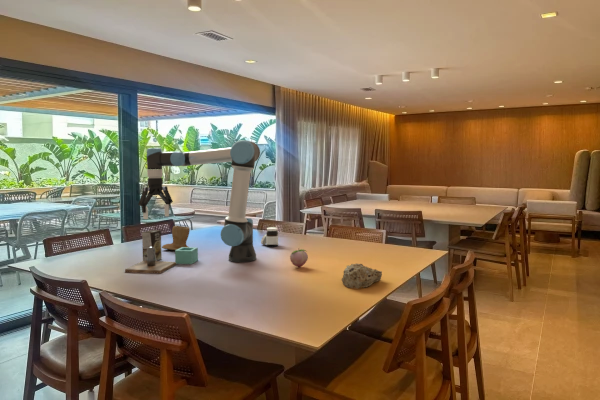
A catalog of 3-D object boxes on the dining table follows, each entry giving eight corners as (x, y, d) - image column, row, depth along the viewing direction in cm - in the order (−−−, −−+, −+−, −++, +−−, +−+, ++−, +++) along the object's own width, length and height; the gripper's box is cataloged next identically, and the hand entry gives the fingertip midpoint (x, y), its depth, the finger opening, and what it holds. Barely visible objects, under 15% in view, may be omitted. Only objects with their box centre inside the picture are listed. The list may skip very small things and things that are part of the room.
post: (157, 267, 214) (156, 246, 213) (153, 269, 210) (152, 247, 209) (149, 267, 215) (149, 245, 214) (145, 269, 211) (145, 247, 210)
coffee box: (153, 262, 225) (152, 232, 224) (142, 261, 227) (141, 232, 225) (162, 258, 234) (161, 230, 233) (151, 258, 235) (150, 229, 234)
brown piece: (194, 249, 261) (193, 225, 260) (181, 252, 250) (180, 227, 249) (174, 247, 267) (174, 223, 266) (161, 250, 256) (160, 226, 255)
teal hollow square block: (197, 260, 231) (197, 247, 230) (191, 264, 222) (191, 250, 221) (182, 259, 232) (181, 247, 231) (175, 263, 223) (175, 250, 222)
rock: (353, 277, 200) (359, 257, 199) (381, 289, 192) (387, 268, 191) (333, 283, 182) (340, 261, 181) (363, 296, 175) (370, 273, 174)
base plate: (176, 264, 220) (176, 261, 220) (160, 273, 202) (160, 270, 202) (143, 263, 223) (143, 260, 222) (125, 272, 205) (125, 269, 205)
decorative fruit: (299, 264, 221) (299, 245, 220) (310, 267, 216) (310, 247, 215) (286, 267, 215) (286, 248, 214) (297, 270, 209) (297, 250, 208)
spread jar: (277, 247, 267) (277, 229, 266) (259, 247, 267) (259, 229, 266) (278, 244, 279) (278, 226, 278) (261, 243, 279) (261, 226, 278)
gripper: (169, 176, 235) (170, 214, 237) (129, 178, 214) (131, 219, 216) (178, 176, 231) (179, 215, 233) (139, 178, 210) (141, 220, 212)
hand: (156, 217), depth 224 cm, fingers open, 13 cm apart
